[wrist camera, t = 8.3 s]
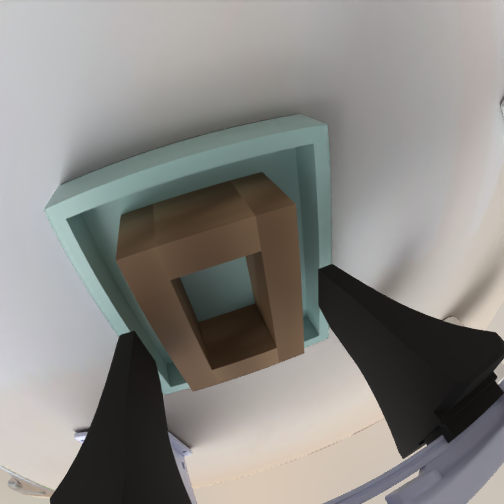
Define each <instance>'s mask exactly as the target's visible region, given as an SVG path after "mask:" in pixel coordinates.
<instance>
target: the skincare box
mask: <svg viewBox="0 0 504 504" xmlns="http://www.w3.org/2000/svg"><path fill="white" fill-rule="evenodd" d="M501 109H502V113H503V117H504V100H503V102H502V103H501Z"/></svg>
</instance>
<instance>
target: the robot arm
mask: <svg viewBox="0 0 504 504" xmlns="http://www.w3.org/2000/svg"><path fill="white" fill-rule="evenodd" d="M318 306H319V308H320V309H321V311H322V313H323V315H324V317H325V319H326V321H327V323H328V324H329V326H330V328H331V329H332V331H333V332H334V333H335V335H336V336H337V338H338V339H339V340H340V342H341V343H342V345H343V346H344V347H345V349H346V350H347V352H348V353H349V354H350V356H351V357H352V359H353V360H354V362H355V363H356V364H357V366H358V367H359V369H360V370H361V372H362V374H363V375H364V377H365V379H366V381H367V383H368V385H369V386H370V388H371V390H372V392H373V394H374V396H375V398H376V400H377V402H378V404H379V406H380V408H381V410H382V412H383V415H384V417H385V419H386V421H387V423H388V426H389V428H390V430H391V433H392V436H393V438H394V441H395V443H396V446H397V449H398V451H399V453H400V455H401V456H402V458H403V459H404V458H406V457H407V456H409V455H410V454H412V453H413V452H415V451H416V450H418V449H419V448H421V447H422V446H424V445H425V444H427V447H425V448H423V449H422V450H420V451H419V452H417V453H416V454H414V455H413V456H411V457H410V458H408V459H407V460H405V461H404V462H402V463H400V464H399V465H397V466H396V467H394V468H392V469H391V470H389V471H387V472H385V473H384V474H382V475H380V476H379V477H377V478H375V479H373V480H371V481H369V482H367V483H366V484H364V485H362V486H360V487H358V488H356V489H354V490H352V491H350V492H348V493H345V494H343V495H341V496H339V497H337V498H335V499H332V500H330V501H328V502H325V503H323V504H361V503H363V502H365V501H367V500H369V499H371V498H373V497H375V496H377V495H378V494H380V493H382V492H384V491H385V490H387V489H389V488H391V487H392V486H394V485H396V484H397V483H399V482H401V481H402V480H404V479H405V478H407V477H409V476H410V475H411V474H413V473H415V472H416V471H418V470H419V469H420V471H419V476H418V477H416V478H414V479H413V480H411V481H409V482H407V483H406V484H404V485H403V486H401V487H399V488H398V489H396V490H395V491H393V492H392V493H390V494H388V495H387V496H386V497H385V499H386V501H387V503H388V504H466V503H467V502H468V501H469V500H470V499H471V498H472V497H473V496H474V495H475V494H476V493H477V492H478V491H479V490H480V489H481V488H482V487H483V486H484V485H485V483H486V482H487V481H488V480H489V479H490V478H491V477H492V476H493V474H494V473H495V472H496V471H497V470H498V468H499V467H500V466H501V465H502V463H503V462H504V379H503V380H502V381H501V382H500V383H499V384H497V383H496V381H495V380H496V379H497V375H496V374H495V373H494V370H495V369H496V368H497V366H498V365H499V364H500V363H501V361H502V360H503V359H504V341H503V340H502V339H501V337H500V336H499V335H498V334H497V333H496V332H490V331H484V330H477V329H472V328H468V327H464V326H459V325H456V324H452V323H449V322H445V321H442V320H439V319H436V318H433V317H431V316H428V315H425V314H423V313H421V312H418V311H416V310H413V309H411V308H409V307H407V306H404V305H402V304H400V303H398V302H396V301H394V300H392V299H390V298H389V297H387V296H385V295H383V294H381V293H379V292H378V291H376V290H374V289H372V288H371V287H369V286H367V285H366V284H364V283H362V282H361V281H359V280H357V279H356V278H354V277H352V276H351V275H349V274H348V273H346V272H344V271H343V270H341V269H339V268H338V267H336V266H335V265H333V264H330V265H328V266H325V267H322V268H320V269H318ZM74 436H75V439H76V440H78V441H79V442H81V443H83V444H82V446H81V448H80V450H79V452H78V454H77V456H76V458H75V460H74V461H73V463H72V465H71V467H70V469H69V470H68V472H67V474H66V475H65V477H64V479H63V480H62V482H61V483H60V485H59V486H58V488H57V489H56V490H55V492H54V493H53V495H52V496H51V498H50V504H197V502H196V499H195V495H194V492H193V488H192V485H191V482H190V478H189V474H188V471H187V467H186V463H185V459H184V456H188V455H191V454H192V450H190V449H189V448H188V447H187V446H185V445H184V444H183V443H182V442H180V441H179V440H178V439H177V438H176V437H174V436H173V435H172V434H171V433H170V432H168V429H167V422H166V416H165V409H164V402H163V394H162V387H161V382H160V378H159V373H158V369H157V365H156V361H155V360H154V358H153V357H152V355H151V354H150V353H149V351H148V350H147V348H146V347H145V345H144V344H143V342H142V341H141V339H140V338H139V336H138V335H137V333H136V332H135V331H131V332H128V333H125V334H121V335H120V336H119V339H118V342H117V346H116V349H115V353H114V356H113V360H112V363H111V367H110V370H109V373H108V377H107V380H106V383H105V387H104V390H103V393H102V396H101V399H100V402H99V405H98V408H97V410H96V413H95V416H94V418H93V421H92V423H91V426H90V428H89V431H88V432H81V433H75V434H74Z"/></svg>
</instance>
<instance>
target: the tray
mask: <svg viewBox="0 0 504 504" xmlns="http://www.w3.org/2000/svg"><path fill="white" fill-rule="evenodd" d="M260 172H263V173H264V174H265V175H266V176H267V177H268V178H269V179H270V180H271V181H272V182H274V183H275V184H276V185H277V186H278V187H279V188H280V189H281V190H282V191H283V192H284V193H285V194H286V195H287V196H288V197H289V198H290V199H291V200H292V201H293V202H294V203H295V204H296V212H297V224H298V238H299V252H300V268H301V285H302V305H303V329H304V348H305V347H308V346H310V345H313V344H315V343H317V342H320V341H322V340H325V339H327V338H328V336H329V324H328V323H327V321H326V319H325V317H324V315H323V313H322V311H321V309H320V308H319V306H318V269H320V268H322V267H325V266H328V265H330V264H331V255H332V218H331V177H330V155H329V138H328V124H326V123H323V122H321V121H318V120H315V119H313V118H310V117H307V116H305V115H302V114H296V115H291V116H285V117H280V118H275V119H269V120H264V121H260V122H255V123H250V124H246V125H241V126H237V127H233V128H229V129H225V130H221V131H217V132H213V133H209V134H205V135H201V136H198V137H194V138H191V139H187V140H184V141H180V142H177V143H173V144H170V145H167V146H164V147H160V148H157V149H154V150H151V151H148V152H145V153H142V154H139V155H136V156H133V157H131V158H128V159H125V160H122V161H119V162H117V163H114V164H111V165H109V166H106V167H103V168H101V169H98V170H96V171H93V172H91V173H88V174H86V175H83V176H81V177H78V178H76V179H74V180H71V181H69V182H67V183H65V184H62V185H60V186H59V187H58V188H57V190H56V191H55V193H54V194H53V196H52V197H51V199H50V201H49V202H48V204H47V205H46V207H45V209H44V211H45V213H46V215H47V217H48V219H49V221H50V224H51V226H52V228H53V229H54V231H55V233H56V235H57V237H58V239H59V241H60V243H61V245H62V247H63V249H64V250H65V252H66V254H67V256H68V258H69V259H70V261H71V263H72V265H73V266H74V268H75V270H76V272H77V273H78V275H79V277H80V278H81V280H82V282H83V283H84V285H85V287H86V288H87V290H88V291H89V293H90V295H91V296H92V298H93V299H94V301H95V302H96V304H97V305H98V307H99V309H100V310H101V312H102V313H103V315H104V316H105V317H106V319H107V320H108V322H109V323H110V325H111V326H112V328H113V329H114V330H115V332H116V333H117V335H118V336H120V335H121V334H125V333H128V332H131V331H135V332H136V333H137V335H138V336H139V338H140V339H141V341H142V342H143V344H144V345H145V347H146V348H147V350H148V351H149V353H150V354H151V355H152V357H153V358H154V360H155V361H156V365H157V369H158V373H159V378H160V382H161V387H162V392H163V393H164V394H165V395H166V394H170V393H173V392H177V391H180V390H184V389H187V388H190V387H189V385H188V384H187V382H186V381H185V379H184V378H183V376H182V375H181V373H180V372H179V370H178V369H177V367H176V366H175V364H174V362H173V361H172V359H171V358H170V356H169V355H168V353H167V351H166V350H165V348H164V347H163V345H162V343H161V342H160V340H159V338H158V337H157V335H156V334H155V332H154V330H153V328H152V327H151V325H150V323H149V322H148V320H147V318H146V316H145V315H144V313H143V311H142V309H141V308H140V306H139V304H138V302H137V300H136V299H135V297H134V295H133V293H132V291H131V289H130V287H129V286H128V284H127V282H126V280H125V278H124V276H123V274H122V272H121V270H120V268H119V266H118V264H117V262H116V252H117V242H118V233H119V225H120V218H121V215H122V214H125V213H128V212H130V211H133V210H136V209H139V208H142V207H145V206H148V205H151V204H154V203H157V202H160V201H163V200H166V199H170V198H173V197H176V196H179V195H182V194H186V193H189V192H192V191H195V190H199V189H202V188H205V187H209V186H212V185H216V184H219V183H223V182H226V181H230V180H234V179H237V178H241V177H245V176H248V175H252V174H256V173H260ZM180 279H181V281H182V284H183V286H184V289H185V291H186V294H187V296H188V298H189V301H190V303H191V306H192V308H193V310H194V313H195V315H196V318H197V320H198V322H200V321H204V320H207V319H210V318H213V317H216V316H219V315H222V314H225V313H228V312H231V311H234V310H237V309H240V308H243V307H246V306H249V305H252V304H255V300H254V295H253V291H252V286H251V281H250V276H249V271H248V267H247V262H246V257H245V256H244V257H241V258H238V259H235V260H232V261H229V262H226V263H223V264H219V265H216V266H213V267H210V268H207V269H204V270H201V271H198V272H195V273H191V274H188V275H185V276H182V277H180Z"/></svg>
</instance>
